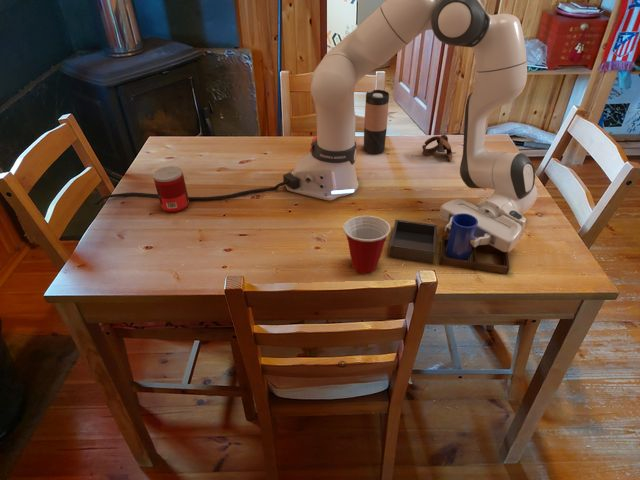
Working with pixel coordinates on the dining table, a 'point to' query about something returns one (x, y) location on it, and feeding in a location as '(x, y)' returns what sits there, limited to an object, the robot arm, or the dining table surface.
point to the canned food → (171, 189)
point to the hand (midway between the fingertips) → (459, 236)
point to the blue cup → (461, 236)
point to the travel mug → (375, 121)
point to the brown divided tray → (473, 263)
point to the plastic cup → (366, 241)
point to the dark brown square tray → (413, 241)
